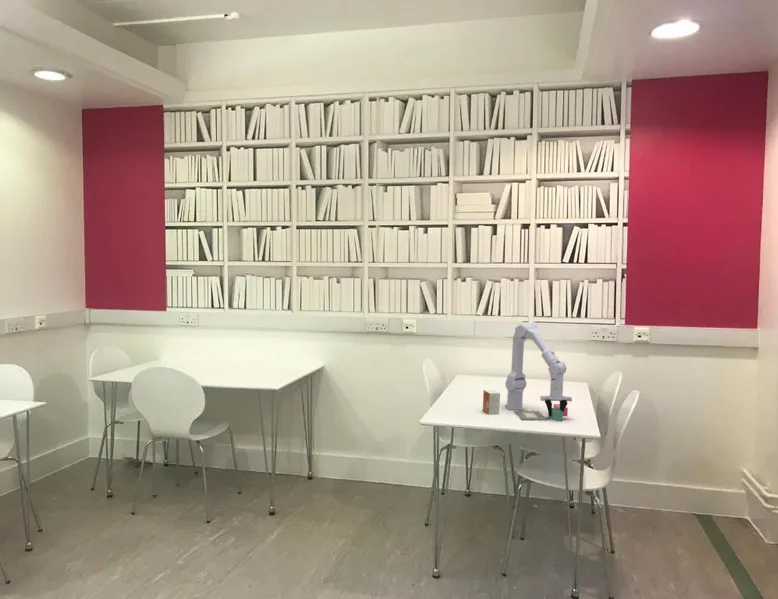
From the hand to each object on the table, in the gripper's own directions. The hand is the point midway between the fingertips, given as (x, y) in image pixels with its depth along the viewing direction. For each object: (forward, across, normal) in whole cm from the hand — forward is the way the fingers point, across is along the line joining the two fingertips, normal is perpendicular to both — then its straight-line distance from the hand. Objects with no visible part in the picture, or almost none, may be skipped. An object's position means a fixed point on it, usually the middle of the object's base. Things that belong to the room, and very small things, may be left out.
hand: (555, 415), depth 298 cm
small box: (+2, -29, +10) cm, 31 cm away
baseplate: (+1, -11, +4) cm, 12 cm away
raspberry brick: (+2, +5, +9) cm, 10 cm away
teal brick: (+1, 0, 0) cm, 1 cm away
